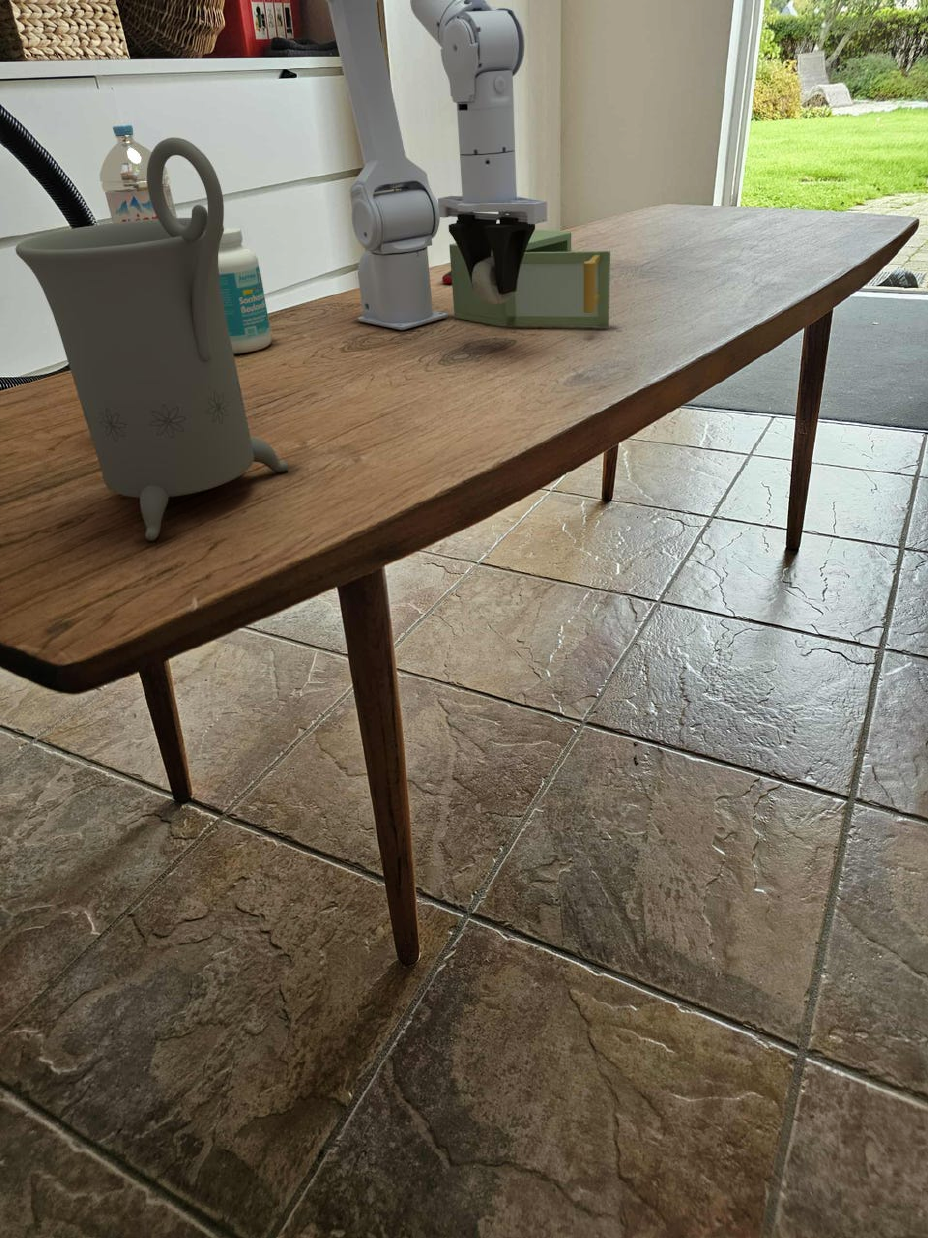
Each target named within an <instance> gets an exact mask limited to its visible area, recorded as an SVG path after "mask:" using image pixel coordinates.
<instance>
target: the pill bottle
mask: <svg viewBox="0 0 928 1238" xmlns="http://www.w3.org/2000/svg"><path fill="white" fill-rule="evenodd" d="M242 243H243V235H242V230H241V229H240V228H238V227H237V228H235V227H229V228H228V227H227V228H224V232H223V235H222V237H221V241H220V245H219V252H218V268H219V278H220V289H221V294H222V300H223V305H224V311H225V315H226V320H227V325H228V330H229V335H230V340H231V345H232V350H233V355H236V354H237V355H238V354H247V353H253V352H256V351H260V350H263V349H265V348H267V347H268V346H269V345H270V344H271V342H272V339H273V338H272V331H271V326H270V325H271V324H270V319H269V314H268V309H267V304H266V303H267V302H266V298H265V292H264V287H263V286H264V285H263V280H262V275H261V267H260V263H259V258H258V256H257V255H256V253H255V252H254V251H252V250H251V249H249V248H245V247H244V246H243V245H242Z"/></svg>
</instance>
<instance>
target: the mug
mask: <svg viewBox="0 0 928 1238" xmlns="http://www.w3.org/2000/svg"><path fill="white" fill-rule="evenodd" d="M151 152H152V153H151V155H150V158H149V161H148V166H147V187H148V193H149V197H150V201H151V204H152V207H153V209H154V212H155V214H156V216H157V218H158V219H149V220H137V221H126V222H117V223H113V222H110V223H102V224H95V225H89V226H88V225H87V226H82V227H75V228H70V229H64V230H63V229H62V230H59V231H54V232H53V231H52V232H49V233H45V234H41V235H37V236H34V237H31V238H27V239H25V240H23V241H21V242H19V243H18V244H17V245H15V248H14V249H15V253H16V255H17V256H18V257H19V258H20V259H21V260H22V261H23V262H24V264H26V265H27V267H28V268H29V269H30V270H31V272H32V273H33V275H34V276H35V278H36V280H37V281H38V284H39V285H40V287H41V289H42V291H43V293H44V296H45V299H46V301H47V303H48V305H49V308H50V310H51V313H52V315H53V317H54V318H53V319H54V321H55V325H56V328H57V330H58V333H59V337H60V340H61V343H62V347H63V351H64V353H65V357H66V359H67V363H68V366H69V369H70V372H71V376H72V378H73V383H74V386H75V389H76V392H77V396H78V399H79V402H80V406H81V409H82V412H83V415H84V418H85V422H86V426H87V428H88V431H89V435H90V438H91V442H92V445H93V448H94V450H95V454H96V458H97V461H98V464H99V467H100V470H101V471H100V472H101V474H102V477H103V481H104V483H105V486H106V487H107V489H109V490H110V491H111V492H113V493H115V494H117V495H119V496H123V497H127V498H134V499H139V504H140V505H139V506H140V511H141V515H142V519H143V522H144V525H145V528H146V531H145V533H144V536H145V538H146V540H147V541H151V542H152V541H155V540H157V538H158V537H159V534H160V532H161V526H162V521H163V516H164V513H165V510H166V507H167V506H168V502H169V498H175V497H181V496H188V495H192V494H196V493H201V492H204V491H207V490H211V489H214V488H217V487H219V486H222V485H224V484H228V483H229V482H231V481H234V480H235V479H237V478H239V477H240V476H242V475H243V474H244V473H246V472H247V471H248V470H249V469H250V468H251V467H252V465H254V463H259V464H262V465H264V466H266V467H267V468H268V469H270V470H271V471H273V472H275V473H284V472H287V471H288V470H289V464H288V463H287V462H286V461H280V459H279V458H278V455H277V453H276V451H275V450H274V449H273V447H272V446H271V445H270V444H269V443H267V442H266V441H264V440H263V439H260V438H257V437H251V434H250V428H249V424H248V419H247V414H246V408H245V403H244V399H243V394H242V389H241V384H240V380H239V373H238V369H237V364H236V361H235V354H233V350H232V345H231V340H230V335H229V330H228V325H227V320H226V315H225V311H224V305H223V300H222V294H221V289H220V278H219V268H218V252H219V245H220V241H221V237H222V235H223V232H224V229H225V226H224V219H225V205H224V203H225V202H224V196H223V190H222V186H221V183H220V180H219V178H218V175H217V172H216V171H215V169H214V167H213V164H212V163H211V162H210V160H209V159H208V157H207V156H206V154H205V153H204V152H203V151H202V150H201V149H199V147H197V146H196V145H195V144H194V143H192V142H190V140H186V139H185V138H182V137H181V138H180V137H167V138H165V139H163V140H161V141H159V142H157V144H156V145H155V146H154V147H153V149H152V151H151ZM174 156H178V157H179V156H180V157H182V158H184V159H185V160H187V161H188V162H189V163H190V165H192V166H193V168H194V169H195V170H196V172H197V174H198V176H199V178H200V180H201V182H202V184H203V185H202V186H203V187H204V191H205V195H206V202H207V209H206V207H205V206H203V205H201V204H196V205H195V206H193V208H192V209H191V217H177V218H174V216H173V214H172V213H171V211H170V209H169V207H168V204H167V201H166V199H165V195H164V190H163V170H164V166H165V167H166V163H167V162H168V160H170V158H171V157H174Z"/></svg>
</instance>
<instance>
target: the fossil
mask: <svg viewBox="0 0 928 1238" xmlns="http://www.w3.org/2000/svg"><path fill="white" fill-rule="evenodd" d="M472 284H473V288H474V291H475V293H476V295H477V296H478V298H479V299H481V300H482V301H484V302H486V303H488V304H493V305H499V304H502V303H505V302H506V301H508V300H509V299H511V298H513V297H514V294H515V292H516V291H517V288H518V286H516V291H514V292H511V293H507V294H499V292H498V288H497V282H496V271H495V262H494V257H493V256H491V257H489V258H486V259H484V260H482V261H480V262H478V263H477V264H476V265H475V267H474V269H473V273H472Z"/></svg>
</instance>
